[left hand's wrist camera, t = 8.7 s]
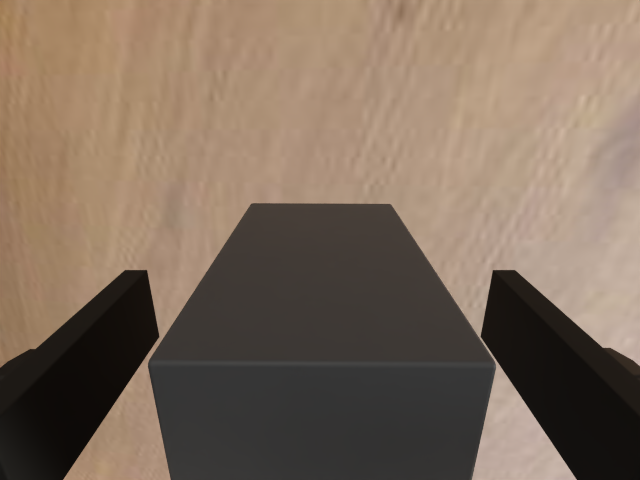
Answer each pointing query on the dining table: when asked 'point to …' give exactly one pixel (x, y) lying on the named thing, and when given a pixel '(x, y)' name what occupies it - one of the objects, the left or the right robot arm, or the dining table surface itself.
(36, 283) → the dining table surface
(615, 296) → the dining table surface
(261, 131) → the dining table surface
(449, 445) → the bar
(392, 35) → the dining table surface
